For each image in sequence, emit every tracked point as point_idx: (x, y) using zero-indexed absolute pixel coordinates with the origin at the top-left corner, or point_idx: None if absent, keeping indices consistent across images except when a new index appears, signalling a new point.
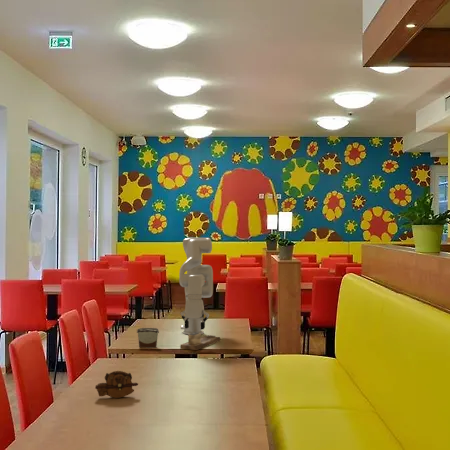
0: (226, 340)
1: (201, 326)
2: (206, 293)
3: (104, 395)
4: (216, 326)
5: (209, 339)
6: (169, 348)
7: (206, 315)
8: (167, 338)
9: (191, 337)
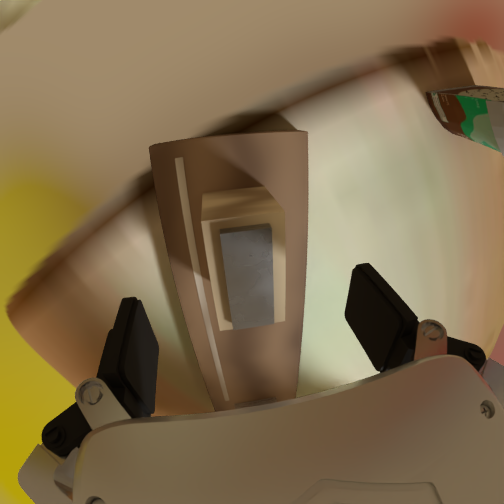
0: (195, 410)
1: (119, 322)
2: None
3: None
4: None
5: (225, 369)
6: (361, 101)
7: (44, 476)
8: (433, 315)
9: (242, 207)
